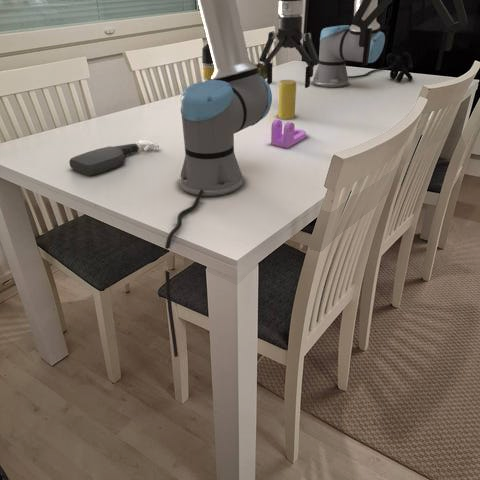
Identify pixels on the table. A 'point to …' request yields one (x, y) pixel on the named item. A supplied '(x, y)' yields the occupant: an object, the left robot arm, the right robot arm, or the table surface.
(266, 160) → the table surface
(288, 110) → the canister
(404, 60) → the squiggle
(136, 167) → the table surface
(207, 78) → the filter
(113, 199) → the table surface
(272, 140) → the bracket
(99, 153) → the spray bottle
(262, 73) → the cup
